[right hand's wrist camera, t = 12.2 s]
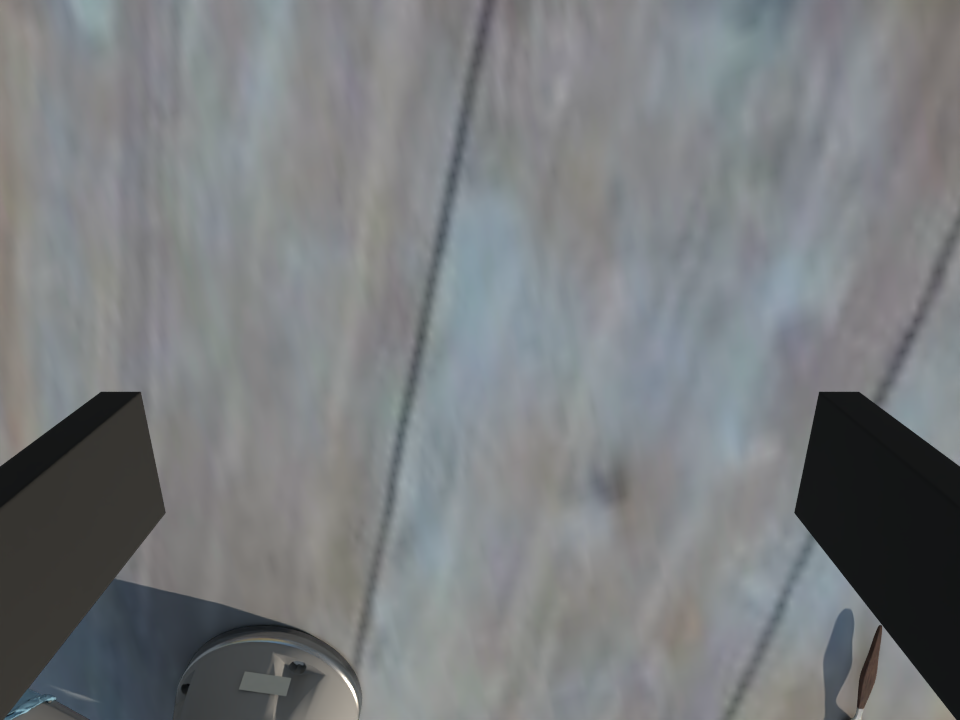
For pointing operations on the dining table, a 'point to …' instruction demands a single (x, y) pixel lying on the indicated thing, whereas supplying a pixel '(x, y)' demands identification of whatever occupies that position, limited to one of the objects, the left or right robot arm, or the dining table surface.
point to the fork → (868, 674)
